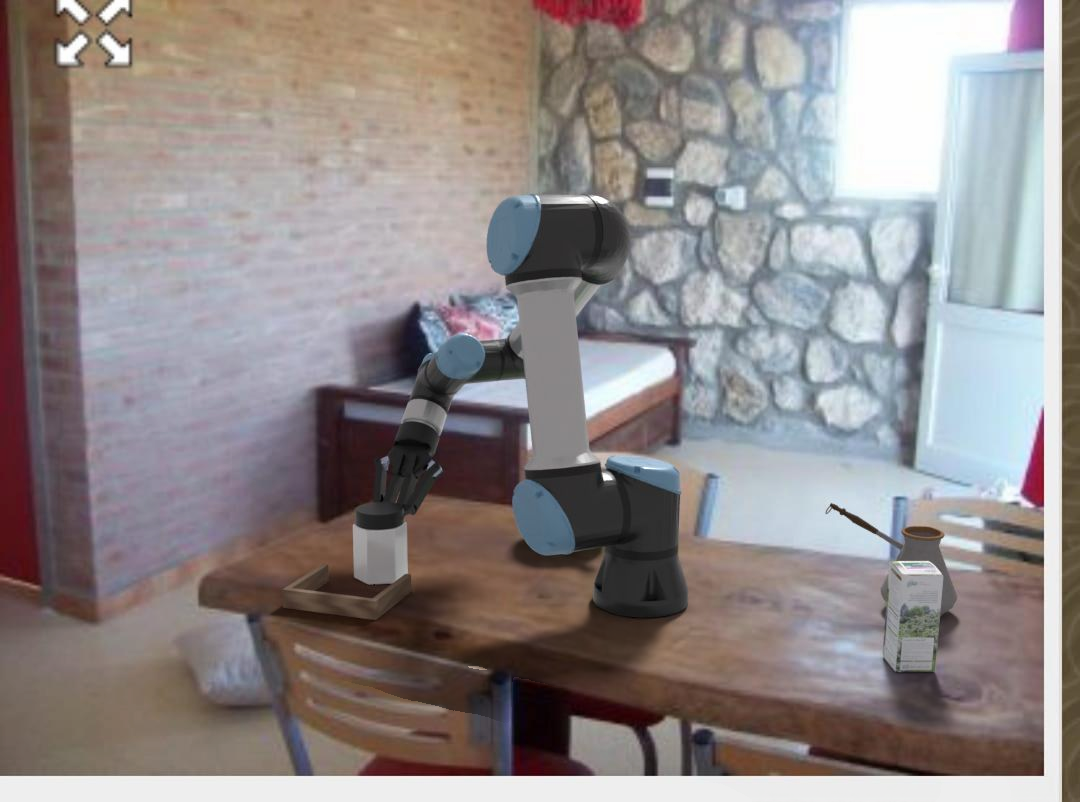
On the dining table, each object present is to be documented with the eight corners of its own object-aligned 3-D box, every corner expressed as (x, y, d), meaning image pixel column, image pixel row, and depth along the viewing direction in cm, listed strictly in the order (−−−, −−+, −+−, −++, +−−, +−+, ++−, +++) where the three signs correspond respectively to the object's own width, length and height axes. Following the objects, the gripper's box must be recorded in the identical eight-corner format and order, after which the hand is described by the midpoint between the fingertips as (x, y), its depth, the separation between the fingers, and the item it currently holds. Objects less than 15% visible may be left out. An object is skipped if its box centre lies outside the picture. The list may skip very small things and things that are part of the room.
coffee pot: (964, 607, 188) (972, 516, 185) (943, 629, 178) (950, 534, 176) (835, 580, 200) (839, 494, 197) (808, 600, 190) (813, 510, 187)
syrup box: (921, 656, 169) (928, 558, 166) (936, 673, 163) (944, 572, 160) (881, 656, 168) (888, 558, 166) (895, 674, 163) (902, 573, 160)
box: (411, 592, 193) (411, 574, 192) (376, 620, 181) (375, 601, 180) (323, 581, 198) (322, 563, 197) (283, 607, 186) (282, 589, 185)
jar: (416, 578, 199) (415, 509, 197) (374, 589, 194) (372, 518, 192) (387, 565, 206) (386, 498, 204) (346, 574, 201) (344, 506, 199)
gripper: (459, 444, 215) (422, 561, 203) (394, 438, 219) (354, 553, 207) (447, 421, 209) (409, 540, 197) (380, 416, 213) (338, 532, 201)
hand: (381, 547), depth 202 cm, fingers closed
